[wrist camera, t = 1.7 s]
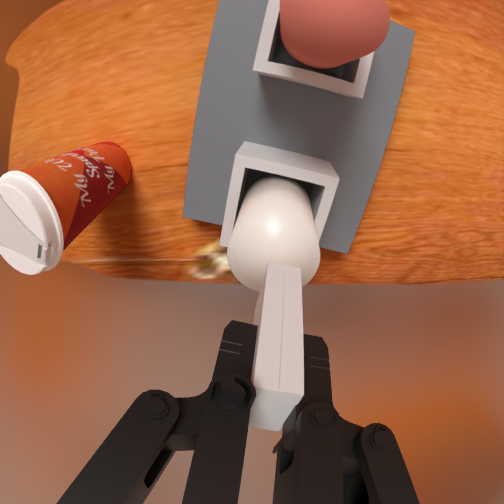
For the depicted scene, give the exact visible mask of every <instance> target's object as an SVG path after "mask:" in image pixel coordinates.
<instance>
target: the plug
mask: <svg viewBox="0 0 504 504" xmlns="http://www.w3.org/2000/svg"><path fill="white" fill-rule="evenodd" d="M227 259H228V264H229V266H230V269H231V271H232V273H233V274H234V276H235V277H236V278H237V279H238V280H239V281H240V282H241V283H242V284H243V285H245V286H246V287H248V288H250V289H252V290H254V291H256V292H259V293H260V289H261V286H262V282H263V278H264V275H265V271H266V267H267V264H268V261H270V262H274V263H279V264H283V265H288V266H292V267H297V268H301V285H302V287H303V286H304V285H306V284H307V283H308V282H309V281H310V280H311V279H312V278H313V276H314V275H315V273H316V271H317V269H318V267H319V263H320V248H319V243H318V238H317V233H316V228H315V223H314V218H313V213H312V208H311V204H310V199H309V196H308V194H307V192H306V191H305V189H304V188H303V187H302V186H301V185H300V184H299V183H298V182H296V181H295V180H293V179H291V178H288V177H285V176H277V175H275V176H268V177H264V178H262V179H260V180H258V181H256V182H255V183H254V184H253V185H252V186H251V187H250V188H249V189H248V191H247V192H246V195H245V197H244V200H243V203H242V206H241V209H240V212H239V215H238V218H237V220H236V223H235V226H234V229H233V232H232V235H231V238H230V241H229V245H228V250H227Z"/></svg>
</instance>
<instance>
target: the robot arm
mask: <svg viewBox="0 0 504 504" xmlns="http://www.w3.org/2000/svg"><path fill="white" fill-rule="evenodd" d="M329 368H330V365H329V354H328V347H327V345H326V344H325V342H324V340H323V338H322V337H317V336H312V335H307V334H303V310H302V285H301V268H297V267H292V266H288V265H283V264H279V263H274V262H270V261H268V264H267V267H266V271H265V275H264V278H263V282H262V286H261V289H260V293H259V296H258V300H257V304H256V308H255V315H254V321H253V325H252V324H247V323H243V322H238V321H234V320H232V321H231V322H230V323H229V324H228V325H227V326H226V327H225V329H224V333H223V337H222V341H221V345H220V349H219V353H218V357H217V361H216V365H215V370H214V373H213V377H212V381H211V383H210V385H209V387H208V389H207V390H206V391H205V392H203V393H202V394H200V395H198V396H195V397H189V398H174V397H173V396H172V395H170V394H169V393H168V392H165V391H162V390H149V391H146V392H143V393H142V394H141V395H140V396H138V397H137V398H136V400H135V401H134V402H133V404H132V405H131V406H130V408H129V409H128V410H127V412H126V413H125V414H124V415H123V417H122V418H121V419H120V421H119V422H118V423H117V425H116V426H115V427H114V429H113V430H112V431H111V433H110V434H109V435H108V436H107V438H106V439H105V440H104V442H103V443H102V444H101V446H100V447H99V448H98V450H97V451H96V452H95V454H94V455H93V456H92V458H91V459H90V460H89V461H88V463H87V464H86V465H85V467H84V468H83V470H82V471H81V472H80V473H79V475H78V476H77V477H76V479H75V480H74V481H73V482H72V484H71V485H70V486H69V488H68V489H67V490H66V492H65V493H64V494H63V496H62V497H61V498H60V500H59V501H58V502H57V504H143V503H144V501H145V500H146V498H147V496H148V495H149V493H150V492H151V490H152V489H153V487H154V485H155V484H156V482H157V481H158V479H159V477H160V475H161V474H162V473H163V471H164V469H165V468H166V466H167V465H168V463H169V461H170V460H171V458H172V456H173V455H174V453H175V451H185V450H194V454H193V458H192V462H191V467H190V471H189V475H188V479H187V484H186V488H185V492H184V497H183V501H182V504H237V503H238V496H239V489H240V483H241V476H242V468H243V461H244V454H245V447H246V439H247V432H248V427H252V428H259V429H264V430H271V431H280V429H281V428H282V427H283V434H282V438H281V439H280V441H279V442H278V443H277V444H276V446H275V447H274V449H273V453H276V452H277V463H276V473H275V484H274V495H273V504H419V501H418V498H417V495H416V492H415V490H414V487H413V484H412V481H411V478H410V476H409V473H408V470H407V468H406V465H405V462H404V460H403V457H402V454H401V451H400V449H399V446H398V444H397V441H396V439H395V437H394V434H393V433H392V431H391V430H390V429H389V428H388V427H387V426H385V425H383V424H380V423H373V424H370V425H368V426H366V427H365V428H364V427H361V426H358V425H356V424H353V423H350V422H348V421H346V420H344V419H343V418H342V417H340V416H339V413H338V412H337V411H336V410H335V408H334V407H333V402H332V390H331V378H330V370H329Z"/></svg>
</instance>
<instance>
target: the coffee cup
mask: <svg viewBox="0 0 504 504" xmlns="http://www.w3.org/2000/svg"><path fill="white" fill-rule="evenodd" d="M130 177H131V163H130V159H129V157H128V155H127V153H126V152H125V151H124V150H123V148H121V147H120V146H119V145H117V144H115V143H112V142H101V143H97V144H93V145H90V146H87V147H84V148H80V149H77V150H74V151H71V152H69V153H66V154H63V155H60V156H57V157H55V158H52V159H49V160H47V161H44V162H42V163H39V164H37V165H34V166H32V167H29V168H27V169H24V170H22V171H9V172H7V173H5V174H4V175H2V176H1V177H0V254H1V255H2V257H3V258H4V259H5V260H6V261H7V262H8V263H9V264H10V265H11V266H12V267H13V268H15V269H16V270H18V271H20V272H21V273H24V274H29V275H33V274H38V273H40V272H42V271H47V270H50V269H52V268H54V267H55V266H56V265H57V264H58V262H59V261H60V259H61V257H62V253H63V251H64V250H65V249H66V247H67V246H68V245H69V244H70V243H71V242H72V241H73V240H74V239H75V238H76V237H77V236H78V235H79V234H80V233H81V232H82V231H83V230H84V229H85V228H86V227H87V226H88V225H89V224H90V223H91V222H92V221H93V220H94V219H95V218H96V217H97V215H98V214H99V213H100V212H101V211H102V210H103V209H104V208H105V207H106V206H107V205H108V204H109V203H110V202H111V201H112V200H113V199H114V198H115V197H116V196H117V195H118V194H119V193H120V192H121V191H122V190H123V189H124V188H125V187H126V186H127V184H128V182H129V180H130Z"/></svg>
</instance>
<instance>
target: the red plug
mask: <svg viewBox="0 0 504 504" xmlns="http://www.w3.org/2000/svg"><path fill="white" fill-rule="evenodd" d="M389 25H390V17H389V11H388V8H387V5H386V3H385V1H384V0H280V31H281V40H282V43H283V46H284V48H285V50H286V51H287V53H288V54H289V55H290V56H291V57H292V58H293V59H294V60H296V61H297V62H299V63H300V64H302V65H304V66H306V67H310V68H314V69H331V68H335V67H337V66H340V65H342V64H345V63H348V62H350V61H353V60H356V59H358V58H361V57H364V56H366V55H368V54H370V53H372V52H374V51H375V50H376V49H378V47H379V46H380V45H381V44H382V43H383V42H384V40H385V38H386V36H387V34H388V31H389Z"/></svg>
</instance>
